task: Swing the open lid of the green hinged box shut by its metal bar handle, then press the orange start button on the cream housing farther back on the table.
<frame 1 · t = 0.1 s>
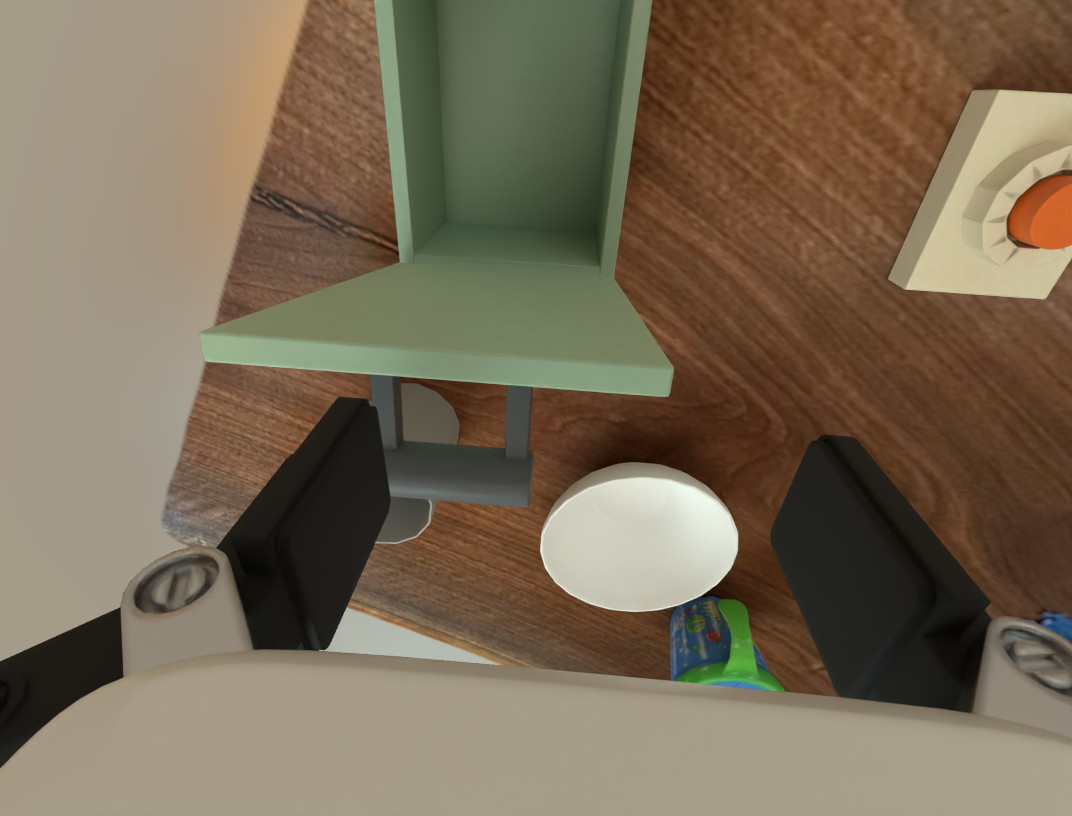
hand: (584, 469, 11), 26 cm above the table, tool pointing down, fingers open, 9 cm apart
green hinged box: (525, 113, 30), on the table
start button: (1057, 212, 27), point 4 cm above the table, slide at 0.1 cm
snack cup: (703, 612, 55), on the table
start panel: (997, 198, 31), on the table
lid: (481, 364, 20), point 17 cm above the table, hinge at 80.0°
cup: (413, 422, 43), on the table
bowl: (628, 491, 46), on the table
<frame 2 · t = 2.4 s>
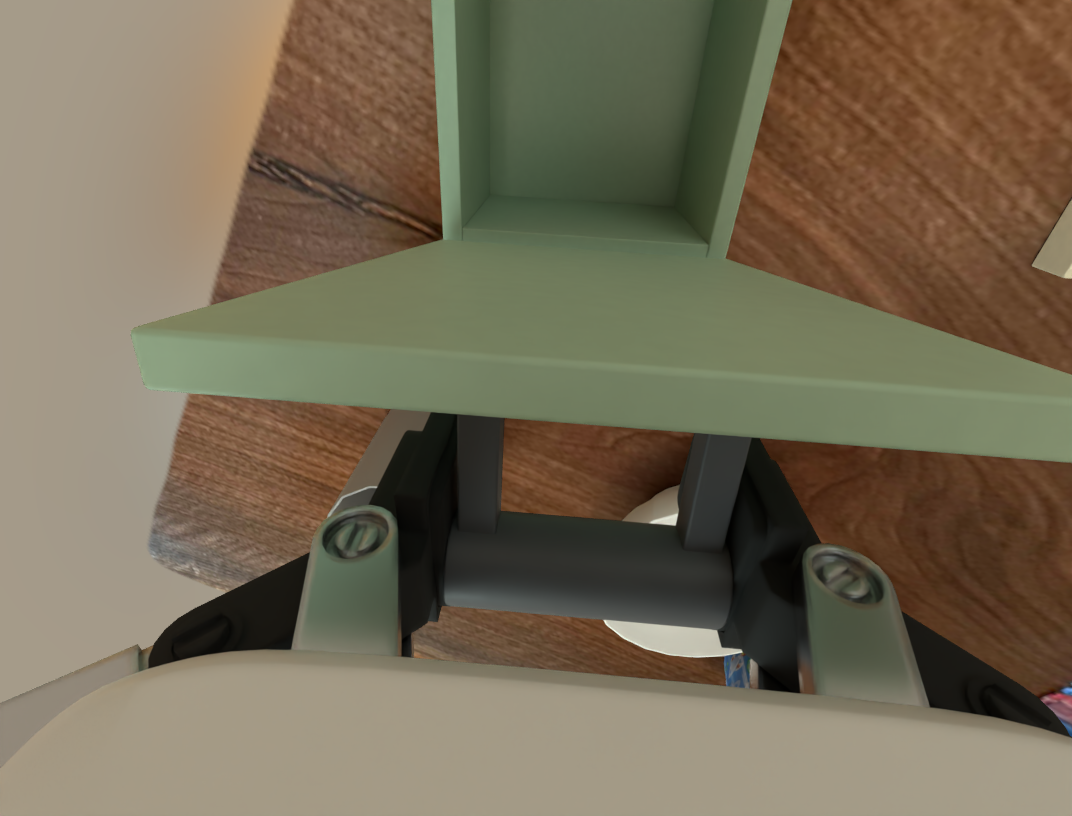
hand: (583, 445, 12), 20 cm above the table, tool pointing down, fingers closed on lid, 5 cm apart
green hinged box: (595, 53, 24), on the table
snack cup: (761, 648, 49), on the table
lid: (583, 377, 14), point 17 cm above the table, hinge at 80.0°, touching gripper
cup: (439, 437, 37), on the table
bowl: (687, 516, 40), on the table
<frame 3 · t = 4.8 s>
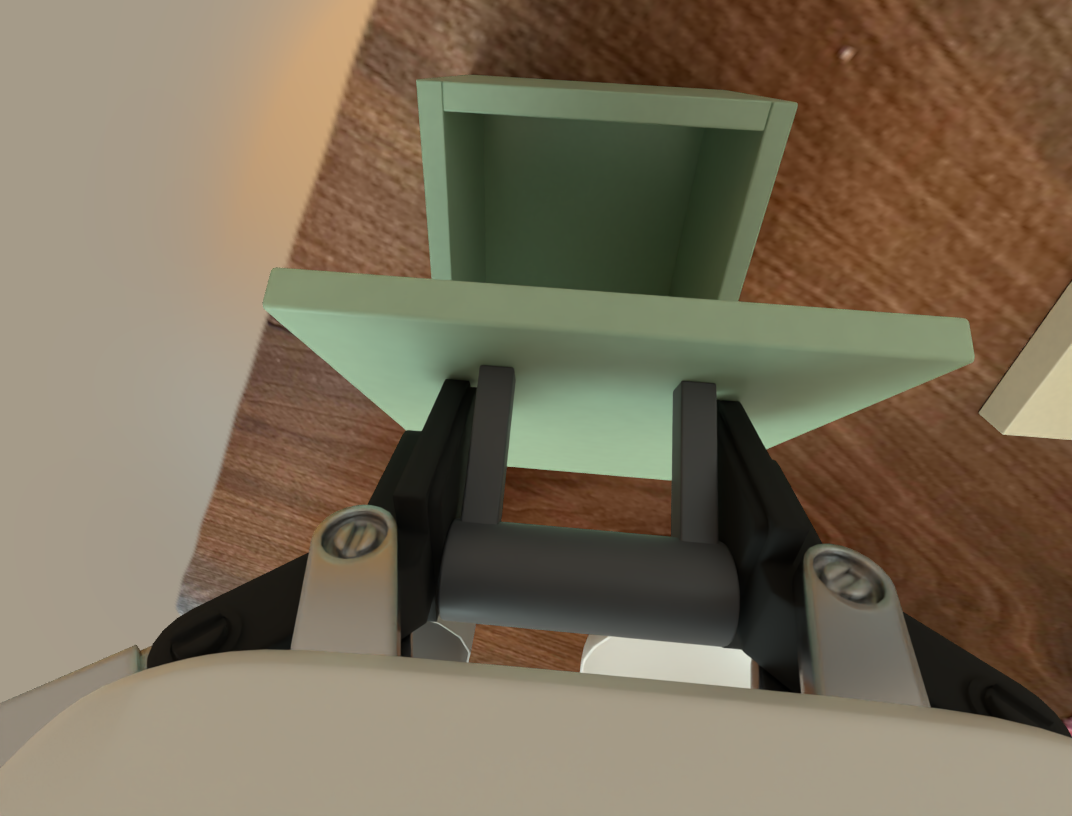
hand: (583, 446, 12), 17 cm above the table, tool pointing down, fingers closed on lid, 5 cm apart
green hinged box: (580, 245, 26), on the table
lid: (572, 500, 15), point 16 cm above the table, hinge at 39.1°, touching gripper
cup: (442, 529, 40), on the table
bowl: (670, 594, 43), on the table
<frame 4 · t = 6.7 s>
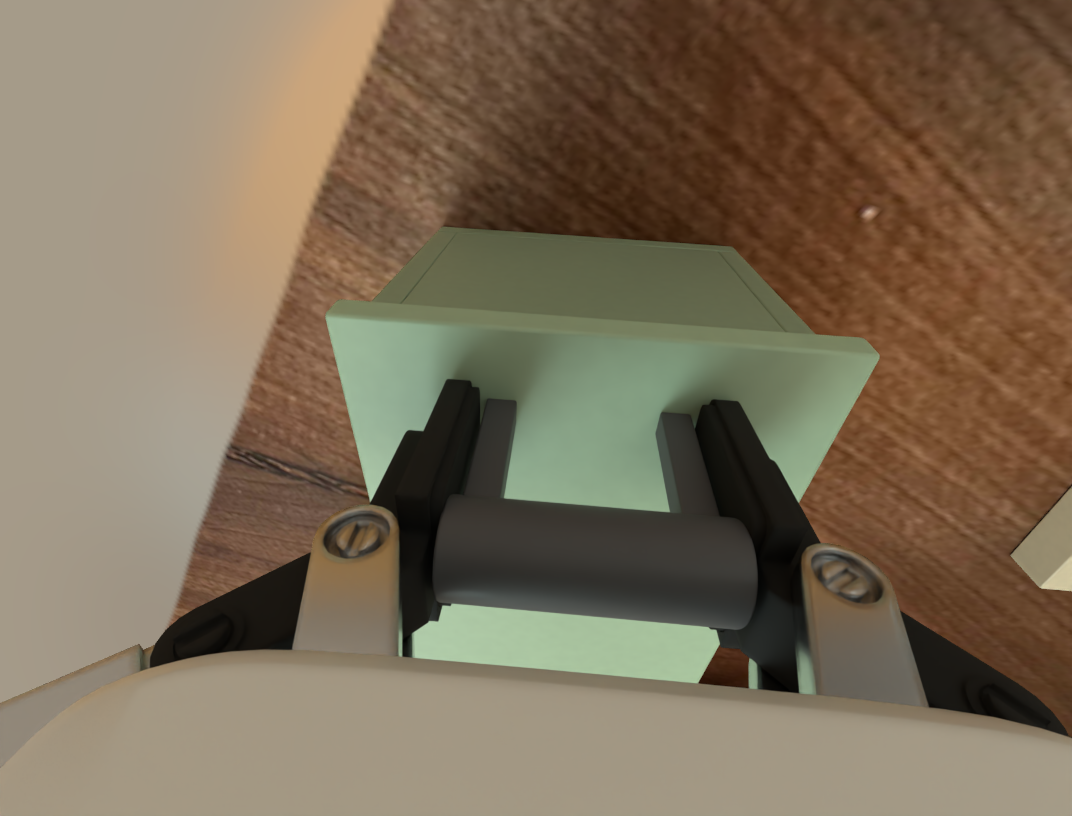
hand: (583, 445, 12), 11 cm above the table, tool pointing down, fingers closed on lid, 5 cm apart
green hinged box: (569, 391, 23), on the table
lid: (565, 620, 13), point 12 cm above the table, hinge at 4.0°, touching gripper
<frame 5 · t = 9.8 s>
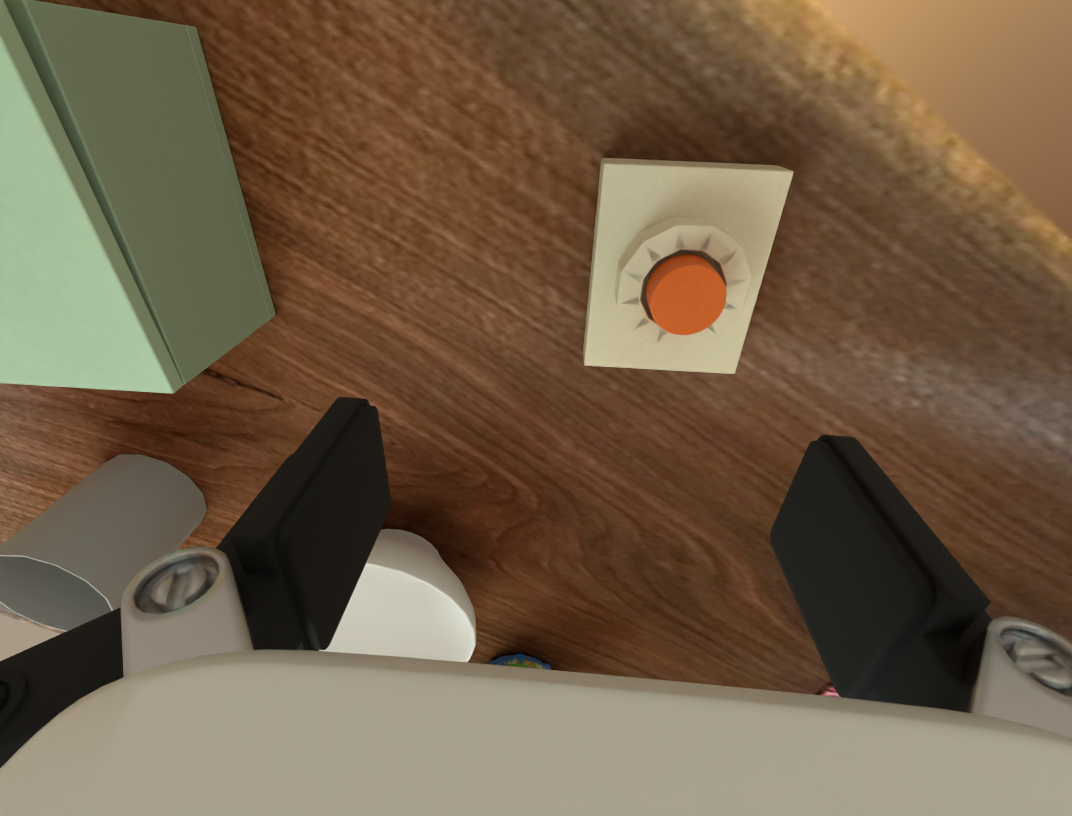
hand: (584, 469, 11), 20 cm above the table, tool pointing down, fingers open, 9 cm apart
green hinged box: (141, 187, 27), on the table
start button: (684, 295, 24), point 4 cm above the table, slide at 0.1 cm
snack cup: (520, 668, 53), on the table
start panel: (669, 267, 28), on the table
cup: (156, 491, 41), on the table
bowl: (400, 555, 44), on the table
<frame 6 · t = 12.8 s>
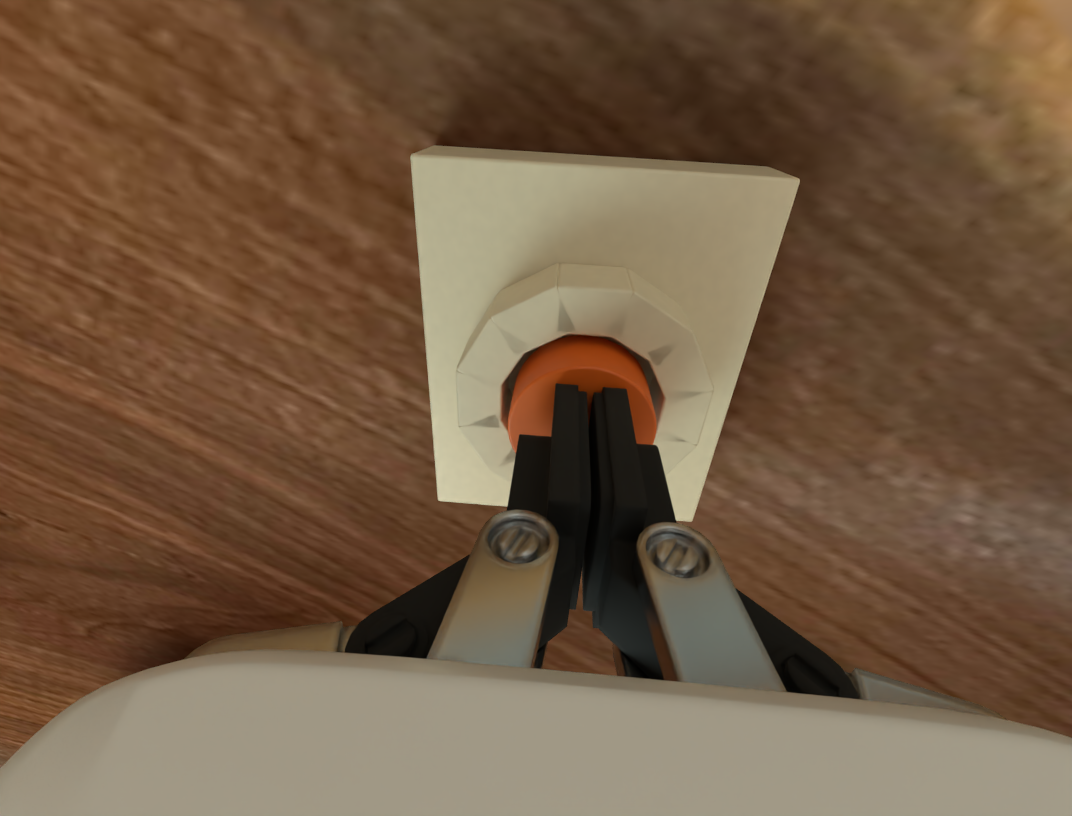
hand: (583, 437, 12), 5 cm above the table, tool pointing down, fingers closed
start button: (580, 412, 13), point 4 cm above the table, slide at -0.2 cm, touching gripper
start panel: (579, 343, 16), on the table
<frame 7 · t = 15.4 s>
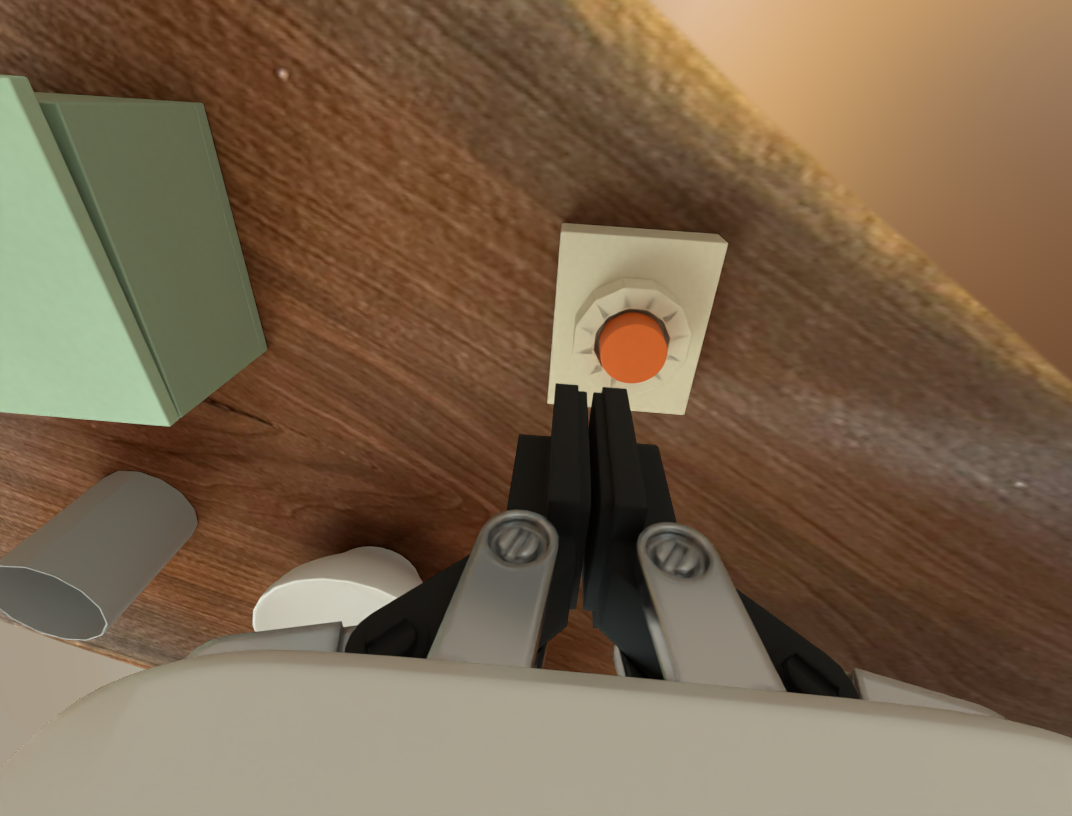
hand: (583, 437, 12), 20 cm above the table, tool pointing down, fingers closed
green hinged box: (148, 235, 30), on the table
start button: (632, 348, 27), point 4 cm above the table, slide at 0.1 cm
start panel: (625, 318, 31), on the table
cup: (151, 505, 43), on the table
bowl: (380, 571, 46), on the table
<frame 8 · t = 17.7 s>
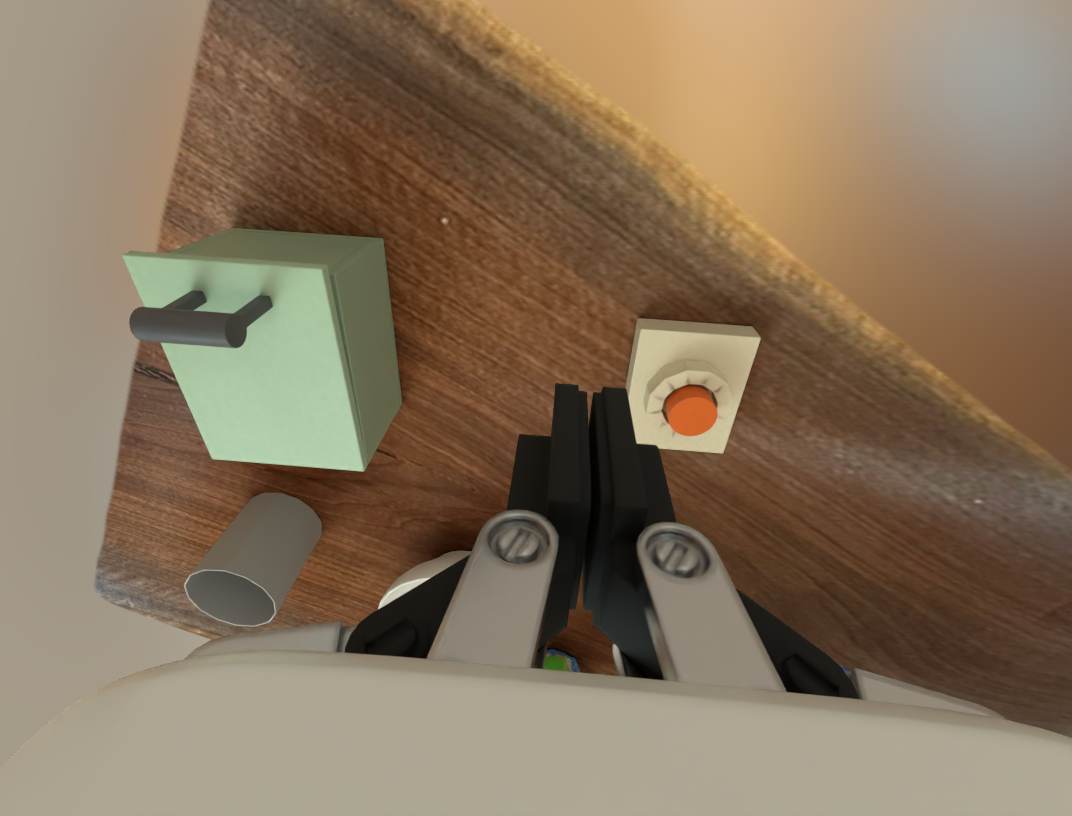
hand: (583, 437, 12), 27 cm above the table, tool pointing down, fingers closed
green hinged box: (325, 323, 41), on the table
start button: (690, 411, 38), point 4 cm above the table, slide at 0.1 cm
snack cup: (551, 661, 66), on the table
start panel: (680, 382, 41), on the table
lid: (241, 394, 30), point 12 cm above the table, hinge at 2.4°
cup: (285, 519, 54), on the table
bowl: (466, 570, 57), on the table
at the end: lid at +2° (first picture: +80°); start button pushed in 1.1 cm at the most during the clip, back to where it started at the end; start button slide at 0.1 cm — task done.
